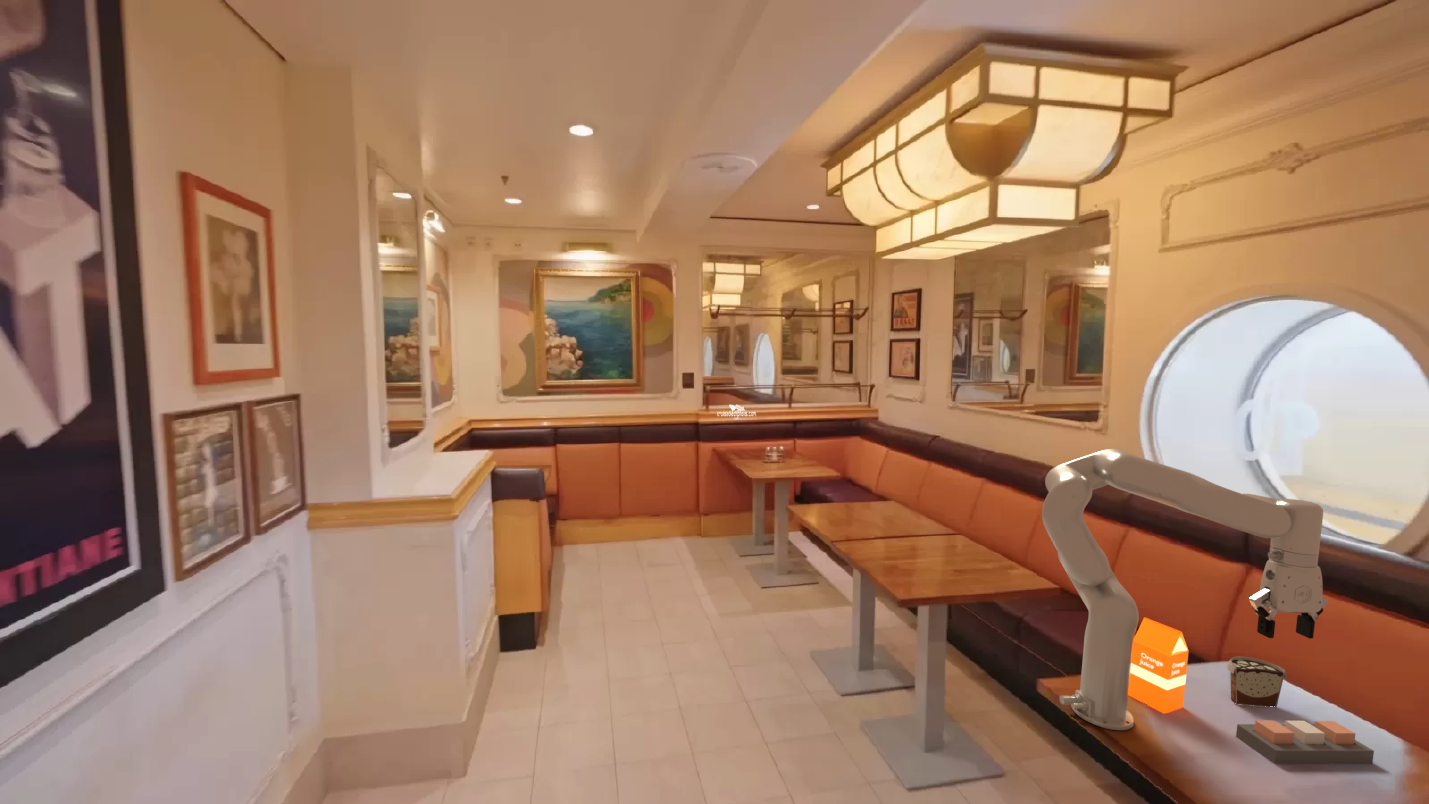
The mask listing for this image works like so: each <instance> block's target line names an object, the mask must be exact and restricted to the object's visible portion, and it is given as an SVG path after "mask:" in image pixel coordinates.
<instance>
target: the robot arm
mask: <svg viewBox="0 0 1429 804" xmlns="http://www.w3.org/2000/svg"><path fill="white" fill-rule="evenodd" d="M1044 481H1045V483H1044V484H1045V487H1046V490H1047V491H1048V493H1047V495H1046V497H1045V499H1044V501H1043V504H1042V509H1041V520H1042V523H1043V526H1044V528H1045V530H1046V532H1047V535H1048V537H1049V538H1050V540H1051V542H1052V543H1053V546H1054V547H1055V550H1056V551H1057V556H1058V557H1057V558H1058V560H1059V562H1060V564H1061V566H1062V567H1063V569H1064V570H1065V572H1066V575H1067V576H1068V578H1069V580H1070V581H1071V582H1072V585H1073V586H1074V588H1075V589H1076V591H1077V593H1078V595H1079V597H1080V599H1081V600H1082V602H1083V603H1084V605H1085V607H1086V609H1087V610H1088V619H1087V623H1086V627H1085V631H1084V640H1083V652H1082V661H1081V662H1082V665H1081V672H1080V673H1081V675H1080V686H1079V689H1075V692H1074V694H1073V693H1072V695H1059V703H1060V704H1062V705H1070V707H1071V708H1072V710H1073V712H1074V713H1075V714H1076V715H1077V716H1078V717H1080V718H1081V719H1083V720H1084V721H1086V722H1088V723H1091V724H1092V725H1095V726H1098V727H1101V728H1103V729H1107V730H1111V731H1112V730H1114V731H1127V730H1129V729H1131V728H1133V727H1134V722H1135V719H1134V716H1133V715H1132V713H1131V712H1130V711H1129V710H1127V709H1128V701H1129V700H1128V698H1129V695H1128V691H1129V680H1130V670H1131V659H1132V658H1131V657H1132V648H1133V641H1134V637H1135V635H1136V633H1137V629H1138V624H1139V618H1140V617H1139V616H1140V615H1139V610H1138V609H1139V608H1138V606H1137V603H1136V601H1135V600H1134V598H1133V597H1132V596H1131V595H1130V593H1129V592H1128V590H1126V589H1125V587H1124V586H1123V585H1122V583H1120V581H1119V580H1118V578H1117V576H1116V575H1115V574H1114V571H1113V570H1112V568H1111V566H1110V561H1109V559H1108V557H1107V555H1106V553H1105V551H1104V550H1103V549H1102V548H1101V547H1100V545H1099V543H1098V541H1096V539H1095V537H1094V536H1093V533H1092V532H1091V530H1090V528H1089V527H1088V524H1087V522H1086V521H1085V518H1084V511H1085V508H1086V506H1087V505H1088V504H1089V502H1090V500H1091V499H1092V497H1093V491H1094V490H1097V489H1100V488H1103V487H1105V486H1108V485H1109V486H1110V487H1113V488H1115V489H1117V490H1120V491H1124V492H1126V493H1130V494H1133V495H1135V496H1139V497H1142V498H1145V499H1147V500H1151V501H1154V502H1157V503H1160V504H1163V505H1166V506H1168V507H1171V508H1175V509H1177V510H1180V511H1182V512H1185V513H1188V514H1191V515H1195V516H1197V517H1200V518H1204V519H1207V520H1209V521H1212V522H1215V523H1217V524H1221V525H1223V526H1226V527H1229V528H1232V529H1235V530H1237V531H1241V532H1245V533H1247V534H1249V535H1253V536H1256V537H1260V538H1264V539H1270V547H1269V552H1267V556H1268V560H1267V561H1266V563H1265V566H1264V570H1263V572H1262V576H1261V581H1260V587H1259V591H1258V592H1256V593H1254V594H1252V596H1250V597H1248V600H1249V603H1250V604H1251V606H1252V609H1253V610H1254V612H1255V614H1256V615H1257V616H1258V617H1257V618H1258V619H1257V627H1256V632H1257V633H1258V634H1260V635H1262V636H1263V637H1267V638H1268V639H1273V638H1275V629H1276V621H1275V620H1274V618H1275V617H1276V615H1277V614H1278V613H1279V612H1280V613H1285V614H1287V613H1289V614H1292V613H1293V614H1297V616H1296V625H1295V632H1296V634H1299V635H1301V636H1303V637H1305V638H1307V639H1309V640H1310V639H1311V640H1313V638H1314V634H1315V633H1314V632H1315V625H1316V621H1318V620H1319V616H1320V615H1321V614H1322V613H1323V612H1324V609H1325V608H1326V606H1327V605H1328V603H1329V600H1328V599H1327V598H1325V596H1323V589H1324V588H1323V587H1324V586H1323V585H1324V584H1323V575H1322V570H1321V567H1320V566H1319V565H1318V564H1319V555H1320V547H1321V546H1320V544H1321V536H1322V529H1323V519H1324V510H1323V507H1322V506H1321V505H1320V504H1317V503H1315V502H1312V501H1308V500H1307V501H1306V500H1302V499H1296V498H1295V499H1293V498H1282V499H1280V498H1275V497H1268V496H1263V495H1259V494H1258V495H1257V494H1251V493H1240V492H1238V491H1235V490H1232V489H1230V488H1229V489H1228V488H1226V487H1223V486H1221V485H1218V484H1215V483H1213V482H1212V481H1210V480H1207V479H1205V478H1203V477H1201V476H1199V475H1196V474H1193V473H1191V472H1189V471H1186V470H1182V469H1178V468H1175V467H1172V466H1169V465H1165V464H1162V463H1159V462H1156V461H1152V460H1149V459H1146V458H1143V457H1140V456H1137V455H1134V454H1131V453H1129V452H1126V451H1124V450H1122V449H1118V448H1107V449H1103V450H1099V451H1097V452H1093V453H1091V454H1087V455H1085V456H1081V457H1079V458H1076V459H1073V460H1071V461H1067V462H1065V463H1061V464H1059V465H1056V466H1055V467H1053V468H1051V469H1050V470H1049V471H1048V472H1047V474H1046V475H1045V480H1044ZM1268 609H1270V610H1268ZM1298 613H1299V614H1298Z"/></svg>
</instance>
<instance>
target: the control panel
mask: <svg viewBox="0 0 1429 804" xmlns="http://www.w3.org/2000/svg"><path fill="white" fill-rule="evenodd" d="M1280 724H1281V723H1280ZM1281 725H1282V726H1284V727H1285V723H1284V724H1283V723H1282V724H1281ZM1311 725H1312V726H1314V727H1315V724H1311ZM1254 730H1255V723H1252V724H1251V723H1250V724H1249V723H1244V724H1243V723H1242V724H1241V723H1238V724H1237V725H1236V733H1235V734H1236V735H1235V737H1236V738H1237V739H1239V740H1240V741H1242V742H1243V743H1244V744H1246V745H1247V746H1248V747H1250V748H1251V749H1253V750H1255V752H1257V753H1258V754H1260V755H1261V756H1263V757H1264V758H1266V760H1268V761H1270V762H1271V763H1273V764H1275V765H1278V764H1279V765H1297V764H1298V765H1313V764H1314V765H1373V761H1374V754H1375V753H1374V752H1375V750H1374V749H1372V748H1370V747H1368V746H1367V745H1365V744H1363V743H1361V742H1360V741H1358V740H1356V739H1355V741H1354V745H1335V744H1333V743H1332V742H1330V741H1328V740H1327V739H1325V738H1324V744H1323V745H1317V744H1303V743H1301V742H1300V741H1298V740H1297V739H1295V738H1293V744H1272V743H1271V742H1269V741H1268V740H1266V739H1265V738H1263V737H1262V736H1260V735H1259V734H1257V733H1256V732H1254Z"/></svg>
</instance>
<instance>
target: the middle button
mask: <svg viewBox="0 0 1429 804" xmlns="http://www.w3.org/2000/svg"><path fill="white" fill-rule="evenodd" d="M1284 724H1285V728H1287V729H1289V730H1290V731H1292V732H1293V733H1294V738H1295V739H1297V740H1298V741H1300V742H1301V743H1303V744H1317V745H1323V744H1324V736H1325V733H1324V732H1322V731H1320V730H1319V729H1317V728H1315V727H1314V726H1312V725H1313V724H1310V723H1309V722H1307V721H1305V720H1285V722H1284Z"/></svg>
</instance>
